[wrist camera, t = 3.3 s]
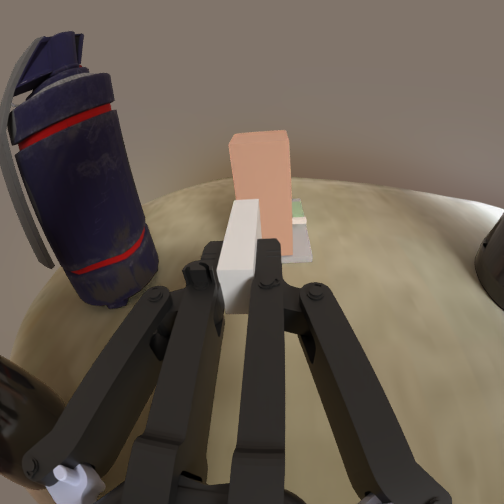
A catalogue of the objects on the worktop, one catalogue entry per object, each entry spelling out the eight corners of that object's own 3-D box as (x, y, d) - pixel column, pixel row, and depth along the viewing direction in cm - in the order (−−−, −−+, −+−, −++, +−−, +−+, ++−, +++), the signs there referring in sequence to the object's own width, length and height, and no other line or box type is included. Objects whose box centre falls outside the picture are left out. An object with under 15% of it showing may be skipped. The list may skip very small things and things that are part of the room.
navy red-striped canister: (121, 245, 38) (69, 54, 20) (179, 260, 34) (127, 16, 16) (58, 305, 28) (-26, 87, 11) (109, 340, 24) (-3, 36, 6)
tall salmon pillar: (305, 230, 34) (304, 129, 27) (310, 254, 30) (310, 139, 23) (232, 234, 35) (216, 135, 28) (227, 258, 31) (207, 147, 24)
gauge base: (300, 202, 43) (300, 191, 42) (312, 261, 31) (312, 247, 30) (238, 206, 44) (237, 195, 43) (226, 265, 32) (223, 251, 31)
